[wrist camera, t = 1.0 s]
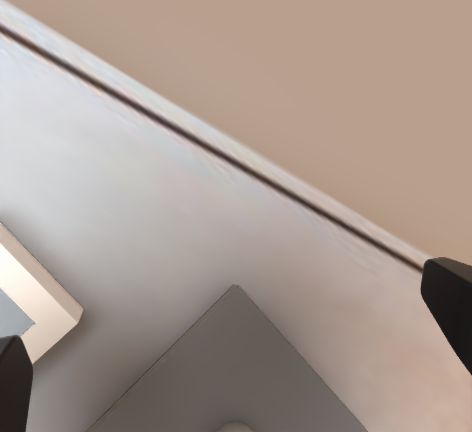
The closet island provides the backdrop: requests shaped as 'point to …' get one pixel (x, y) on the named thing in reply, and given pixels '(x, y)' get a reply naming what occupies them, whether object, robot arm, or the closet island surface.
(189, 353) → the post stand
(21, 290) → the collar
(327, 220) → the closet island surface
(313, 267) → the closet island surface
